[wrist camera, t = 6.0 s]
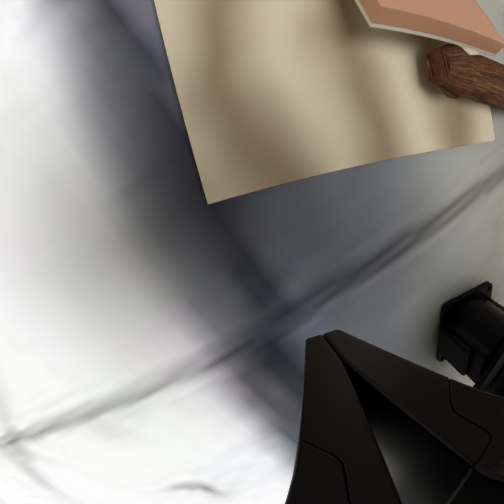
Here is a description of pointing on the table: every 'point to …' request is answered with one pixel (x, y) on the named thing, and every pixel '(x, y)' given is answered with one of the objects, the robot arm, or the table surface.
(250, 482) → the table surface
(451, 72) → the meat cleaver
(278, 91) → the board
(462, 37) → the tile
